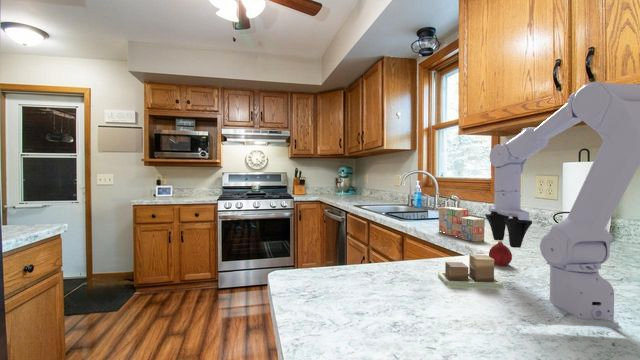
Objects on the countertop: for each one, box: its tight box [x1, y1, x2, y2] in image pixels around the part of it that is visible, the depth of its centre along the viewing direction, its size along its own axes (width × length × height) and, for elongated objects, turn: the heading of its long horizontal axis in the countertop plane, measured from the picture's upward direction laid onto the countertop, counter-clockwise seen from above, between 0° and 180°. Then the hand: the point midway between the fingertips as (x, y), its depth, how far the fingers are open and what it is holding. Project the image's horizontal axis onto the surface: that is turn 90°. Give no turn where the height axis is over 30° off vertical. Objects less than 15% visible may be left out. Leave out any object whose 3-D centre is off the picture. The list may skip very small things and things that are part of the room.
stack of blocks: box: [438, 206, 486, 242], centre depth 129 cm, size 21×6×12 cm, turn 14°
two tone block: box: [468, 254, 495, 282], centre depth 71 cm, size 4×4×6 cm
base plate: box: [435, 271, 509, 291], centre depth 71 cm, size 10×13×2 cm
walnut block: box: [444, 261, 469, 281], centre depth 71 cm, size 4×4×4 cm
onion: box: [488, 240, 513, 267], centre depth 85 cm, size 6×6×8 cm
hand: (506, 243), depth 75 cm, fingers open, 7 cm apart
